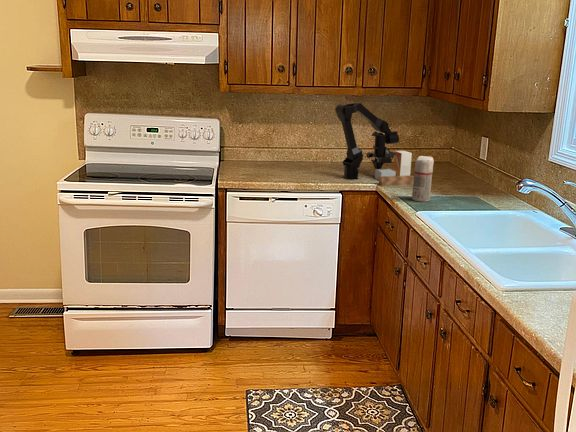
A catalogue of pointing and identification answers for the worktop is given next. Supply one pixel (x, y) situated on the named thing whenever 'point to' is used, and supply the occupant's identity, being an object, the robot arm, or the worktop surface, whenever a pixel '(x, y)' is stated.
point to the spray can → (422, 178)
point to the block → (384, 173)
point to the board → (396, 180)
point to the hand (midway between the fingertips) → (377, 173)
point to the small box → (402, 163)
